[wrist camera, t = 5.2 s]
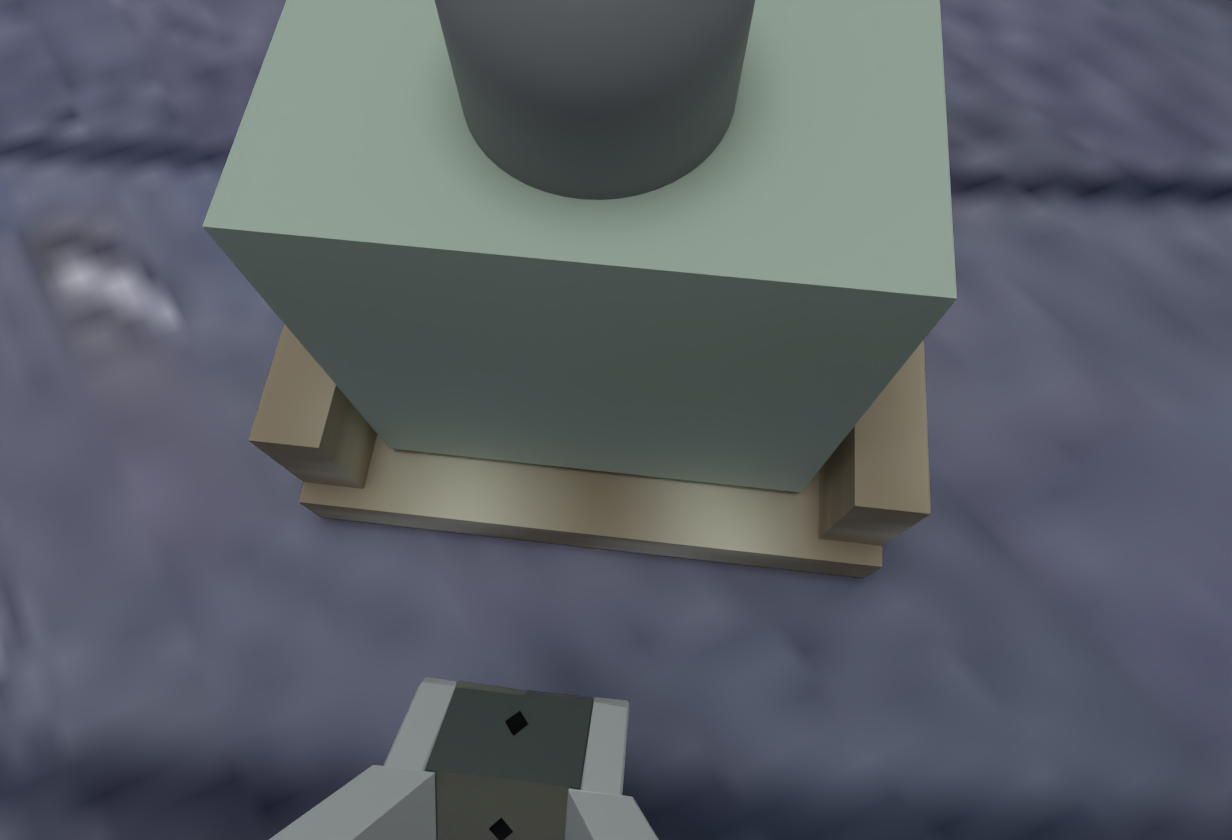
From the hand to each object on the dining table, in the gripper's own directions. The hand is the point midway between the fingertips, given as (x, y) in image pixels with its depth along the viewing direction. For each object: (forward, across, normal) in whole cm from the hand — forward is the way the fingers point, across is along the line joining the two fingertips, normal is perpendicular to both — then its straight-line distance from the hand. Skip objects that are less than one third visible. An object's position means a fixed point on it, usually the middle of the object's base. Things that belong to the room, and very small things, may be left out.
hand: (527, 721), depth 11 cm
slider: (+10, 0, -2) cm, 10 cm away
